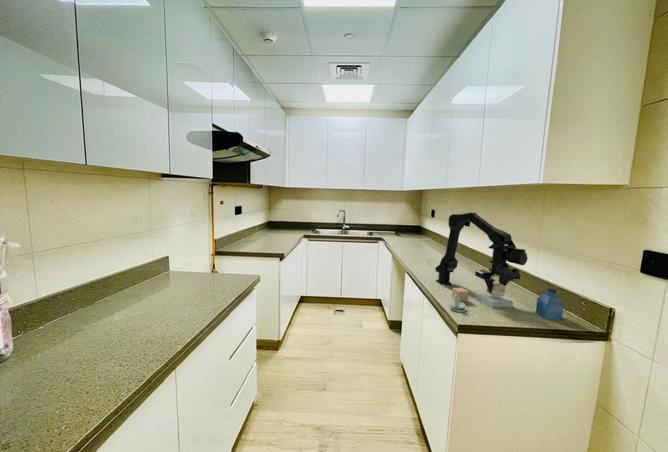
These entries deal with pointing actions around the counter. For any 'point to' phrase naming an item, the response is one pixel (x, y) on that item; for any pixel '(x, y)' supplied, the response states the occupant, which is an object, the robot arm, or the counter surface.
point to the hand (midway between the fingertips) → (495, 292)
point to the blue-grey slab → (495, 300)
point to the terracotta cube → (460, 294)
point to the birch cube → (497, 289)
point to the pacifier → (456, 306)
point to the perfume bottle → (550, 305)
